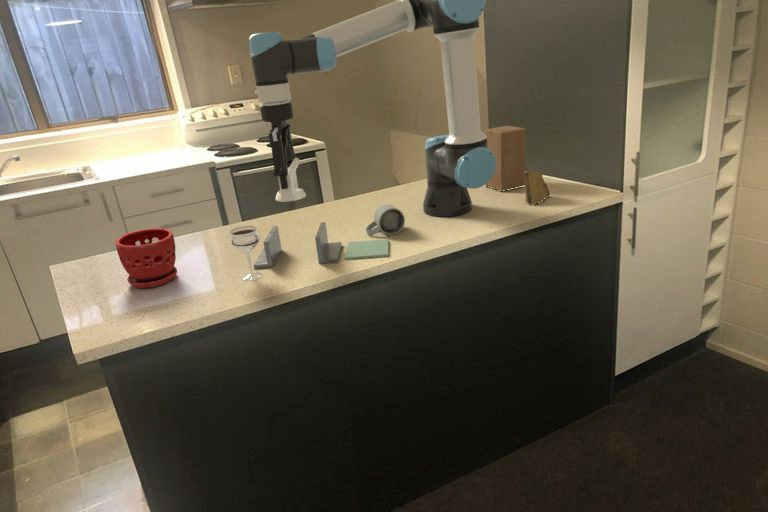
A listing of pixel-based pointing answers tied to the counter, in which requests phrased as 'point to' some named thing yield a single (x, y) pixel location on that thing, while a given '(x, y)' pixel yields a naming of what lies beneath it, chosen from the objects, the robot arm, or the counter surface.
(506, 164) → the wooden block
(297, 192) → the white curved piece
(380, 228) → the ceramic mug
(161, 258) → the plant pot
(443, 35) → the robot arm
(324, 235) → the dark grey bookends
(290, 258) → the counter surface
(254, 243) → the wineglass
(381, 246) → the mat
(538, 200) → the rock
